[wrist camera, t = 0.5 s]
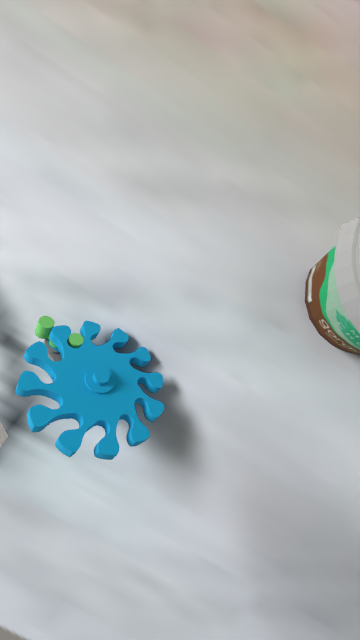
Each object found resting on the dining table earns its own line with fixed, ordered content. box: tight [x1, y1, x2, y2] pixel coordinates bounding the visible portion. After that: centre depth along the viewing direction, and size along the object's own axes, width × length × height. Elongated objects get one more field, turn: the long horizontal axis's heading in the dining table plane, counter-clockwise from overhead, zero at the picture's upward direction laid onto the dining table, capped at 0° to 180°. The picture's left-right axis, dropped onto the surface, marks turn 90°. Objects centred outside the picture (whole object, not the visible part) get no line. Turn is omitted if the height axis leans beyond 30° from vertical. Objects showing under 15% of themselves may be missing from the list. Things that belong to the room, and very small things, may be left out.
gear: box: [16, 316, 165, 460], centre depth 24 cm, size 11×6×10 cm
